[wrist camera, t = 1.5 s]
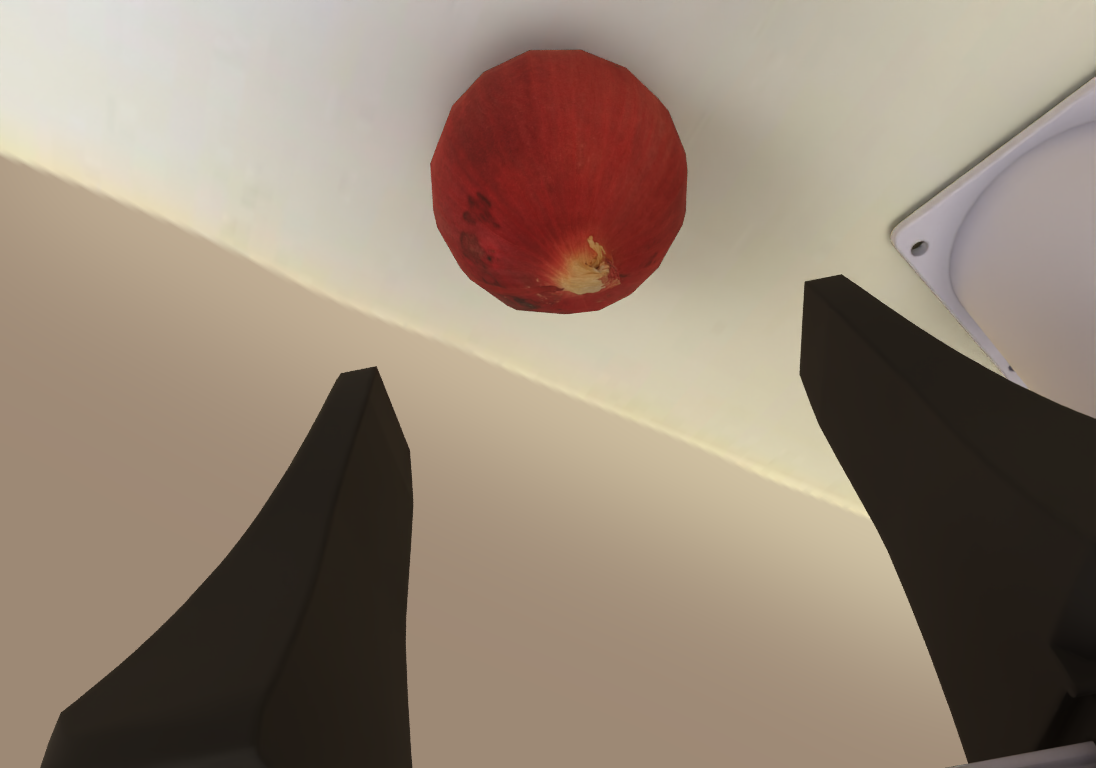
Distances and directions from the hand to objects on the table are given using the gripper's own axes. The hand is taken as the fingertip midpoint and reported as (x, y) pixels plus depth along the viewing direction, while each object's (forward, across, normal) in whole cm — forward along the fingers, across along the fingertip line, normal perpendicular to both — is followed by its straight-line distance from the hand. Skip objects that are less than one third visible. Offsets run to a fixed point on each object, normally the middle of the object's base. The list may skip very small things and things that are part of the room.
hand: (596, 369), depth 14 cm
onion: (+11, 0, 0) cm, 11 cm away
